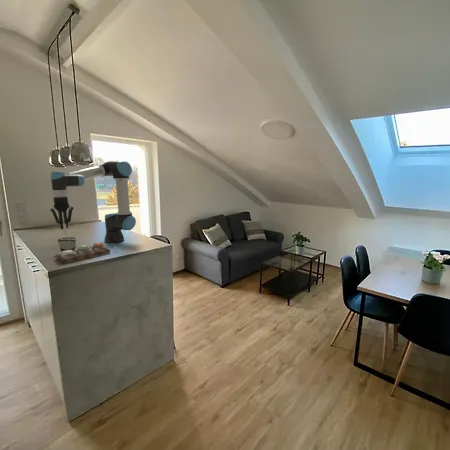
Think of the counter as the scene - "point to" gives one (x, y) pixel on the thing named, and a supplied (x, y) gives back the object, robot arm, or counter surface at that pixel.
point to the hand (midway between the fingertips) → (65, 233)
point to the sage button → (83, 247)
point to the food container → (67, 243)
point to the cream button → (66, 252)
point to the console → (82, 254)
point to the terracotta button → (98, 244)
